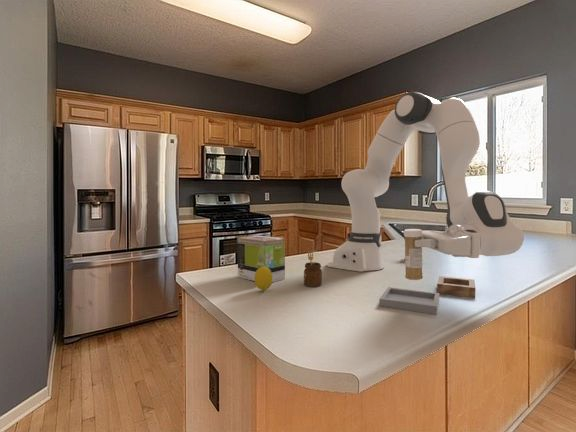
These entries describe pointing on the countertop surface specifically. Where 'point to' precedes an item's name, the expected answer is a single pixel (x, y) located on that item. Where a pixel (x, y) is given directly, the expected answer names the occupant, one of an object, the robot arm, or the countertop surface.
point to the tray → (410, 300)
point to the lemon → (263, 278)
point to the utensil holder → (312, 272)
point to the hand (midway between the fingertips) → (409, 241)
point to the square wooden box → (456, 286)
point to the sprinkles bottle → (413, 254)
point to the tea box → (261, 256)
